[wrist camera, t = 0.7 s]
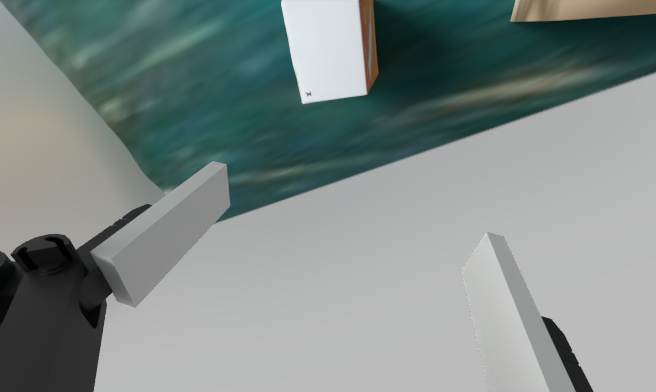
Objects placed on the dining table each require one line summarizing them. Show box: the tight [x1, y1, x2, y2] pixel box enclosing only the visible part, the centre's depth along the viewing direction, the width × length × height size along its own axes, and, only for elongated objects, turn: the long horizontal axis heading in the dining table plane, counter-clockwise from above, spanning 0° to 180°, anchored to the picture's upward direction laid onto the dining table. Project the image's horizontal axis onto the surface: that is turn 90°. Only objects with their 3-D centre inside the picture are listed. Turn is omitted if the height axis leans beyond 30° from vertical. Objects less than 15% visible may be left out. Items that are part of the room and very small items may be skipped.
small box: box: [281, 0, 379, 104], centre depth 27 cm, size 8×6×13 cm
